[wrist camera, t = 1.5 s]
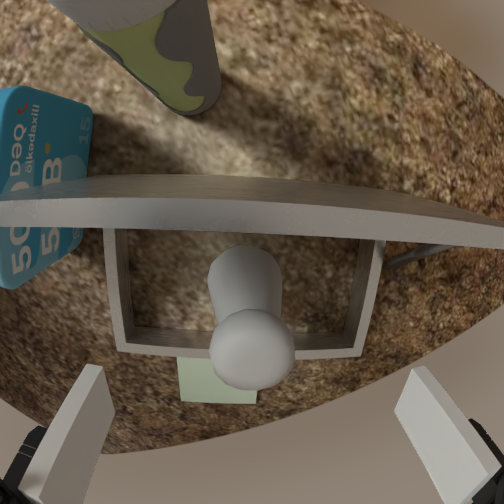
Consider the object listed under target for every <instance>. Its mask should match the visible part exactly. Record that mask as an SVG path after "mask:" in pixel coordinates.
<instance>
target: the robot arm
mask: <svg viewBox="0 0 504 504" xmlns="http://www.w3.org/2000/svg"><path fill="white" fill-rule="evenodd" d="M394 412H395V414H396V416H397V418H398V419H399V421H400V423H401V425H402V426H403V428H404V430H405V432H406V434H407V435H408V437H409V439H410V440H411V442H412V444H413V446H414V448H415V450H416V451H417V453H418V455H419V457H420V459H421V460H422V462H423V464H424V466H425V468H426V470H427V471H428V473H429V475H430V477H431V479H432V481H433V483H434V485H435V487H436V488H437V490H438V492H439V494H440V496H441V498H442V500H443V502H444V504H466V503H467V502H468V501H469V500H470V499H471V498H472V500H473V503H472V504H504V455H503V454H502V452H501V451H500V450H499V448H498V447H497V446H496V444H495V443H494V442H493V441H491V438H490V436H489V435H488V434H486V433H487V432H486V431H485V430H484V429H483V427H482V426H481V425H480V424H479V423H477V422H476V421H475V420H473V419H469V420H468V419H467V418H466V417H465V415H464V414H463V413H462V411H461V410H460V409H459V408H458V406H457V405H456V404H455V403H454V401H453V400H452V399H451V397H450V396H449V395H448V394H447V392H445V390H444V389H443V387H442V386H441V385H440V384H439V382H438V381H437V380H436V379H435V378H434V376H433V375H432V374H431V373H430V371H429V370H428V369H427V368H426V367H425V366H421V367H416V368H412V369H411V372H410V374H409V377H408V379H407V382H406V385H405V387H404V389H403V392H402V394H401V396H400V398H399V401H398V403H397V405H396V407H395V409H394ZM115 413H116V412H115V409H114V406H113V402H112V399H111V395H110V392H109V388H108V385H107V381H106V377H105V373H104V369H103V366H97V365H92V364H86V366H85V367H84V369H83V370H82V372H81V374H80V375H79V377H78V379H77V380H76V382H75V383H74V385H73V387H72V388H71V390H70V392H69V393H68V395H67V397H66V398H65V400H64V402H63V404H62V405H61V407H60V409H59V410H58V412H57V414H56V416H55V418H54V419H53V421H52V423H51V425H50V426H49V428H48V429H47V428H44V427H41V426H37V427H36V428H35V429H33V430H32V431H31V432H30V433H29V434H28V435H27V437H26V439H25V440H24V442H23V445H22V446H21V447H20V449H19V453H17V455H16V457H15V458H14V460H13V462H12V464H11V466H10V468H9V469H8V471H7V473H6V475H5V477H4V479H3V480H1V479H0V504H83V501H84V498H85V495H86V492H87V489H88V486H89V483H90V480H91V477H92V474H93V471H94V469H95V466H96V463H97V460H98V457H99V455H100V452H101V449H102V446H103V444H104V441H105V438H106V436H107V433H108V431H109V428H110V425H111V423H112V420H113V418H114V415H115Z"/></svg>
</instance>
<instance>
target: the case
mask: <svg viewBox="0 0 504 504" xmlns="http://www.w3.org/2000/svg"><path fill="white" fill-rule="evenodd" d="M0 227H78V228H103V241H104V255H105V267H106V277H107V286H108V295H109V303H110V310H111V317H112V324H113V330H114V336H115V342H116V347H117V351H121V352H130V353H139V354H149V355H159V356H171V357H185V358H202V359H210V355H209V347H210V343H211V339H212V335H213V332H214V331H197V330H180V329H165V328H152V327H140V326H135V323H134V315H133V306H132V296H131V285H130V272H129V257H128V237H127V229H161V230H191V231H217V232H241V233H264V234H284V235H304V236H322V237H340V238H357V239H360V242H359V249H358V255H357V261H356V267H355V273H354V279H353V285H352V290H351V296H350V301H349V306H348V311H347V316H346V320H345V325H344V330H343V332H308V333H291V334H292V336H293V339H294V347H295V360H303V359H327V358H344V357H358V356H361V353H362V350H363V346H364V342H365V338H366V335H367V331H368V327H369V323H370V319H371V314H372V310H373V306H374V301H375V297H376V292H377V288H378V283H379V278H380V273H381V267H382V262H383V256H384V250H385V244H386V240H388V241H403V242H418V243H424V244H422V245H419V246H417V247H415V248H412V249H410V250H408V251H405V252H403V253H401V254H398V255H396V256H394V257H391V258H389V259H386V260H385V261H384V267H385V269H387V270H391V269H394V268H397V267H399V266H402V265H405V264H408V263H411V262H414V261H416V260H419V259H422V258H425V257H427V256H430V255H433V254H435V253H438V252H441V251H443V250H446V249H449V248H451V247H454V246H456V245H458V246H470V247H482V248H494V249H504V222H502V221H499V220H496V219H493V218H490V217H487V216H484V215H480V214H477V213H474V212H471V211H467V210H464V209H461V208H457V207H454V206H450V205H447V204H443V203H439V202H436V201H432V200H428V199H424V198H420V197H416V196H412V195H408V194H404V193H400V192H396V191H391V190H384V189H376V188H369V187H361V186H352V185H343V184H334V183H324V182H314V181H303V180H291V179H278V178H263V177H246V176H225V175H193V174H119V175H98V176H92V177H85V178H79V179H73V180H67V181H61V182H56V183H50V184H45V185H40V186H35V187H30V188H25V189H21V190H16V191H12V192H7V193H3V194H0Z"/></svg>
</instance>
